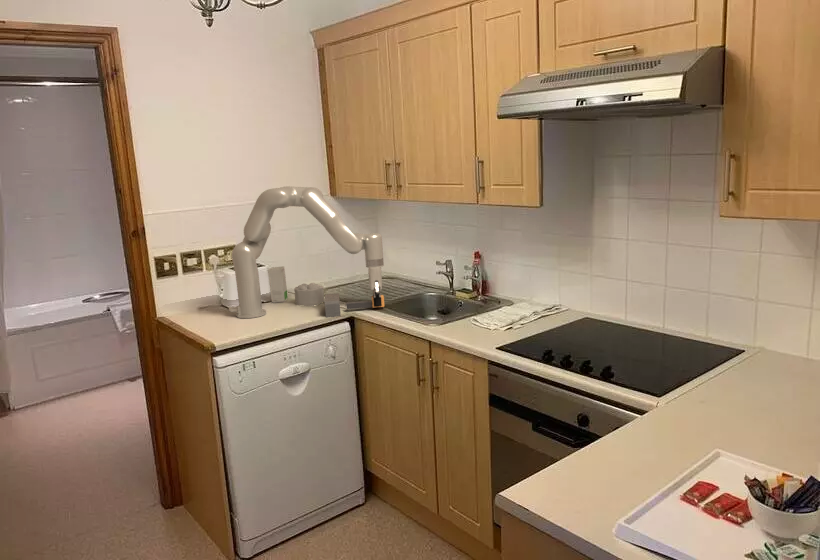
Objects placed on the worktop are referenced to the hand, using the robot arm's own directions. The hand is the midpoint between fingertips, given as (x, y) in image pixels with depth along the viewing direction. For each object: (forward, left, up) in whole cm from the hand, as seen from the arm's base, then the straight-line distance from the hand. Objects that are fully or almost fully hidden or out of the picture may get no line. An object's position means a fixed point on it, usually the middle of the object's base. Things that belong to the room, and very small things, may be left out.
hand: (377, 304), depth 277 cm
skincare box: (-44, +32, -2) cm, 54 cm away
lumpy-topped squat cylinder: (-30, +22, -2) cm, 37 cm away
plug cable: (-5, 0, -1) cm, 5 cm away
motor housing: (-19, 0, -2) cm, 19 cm away
